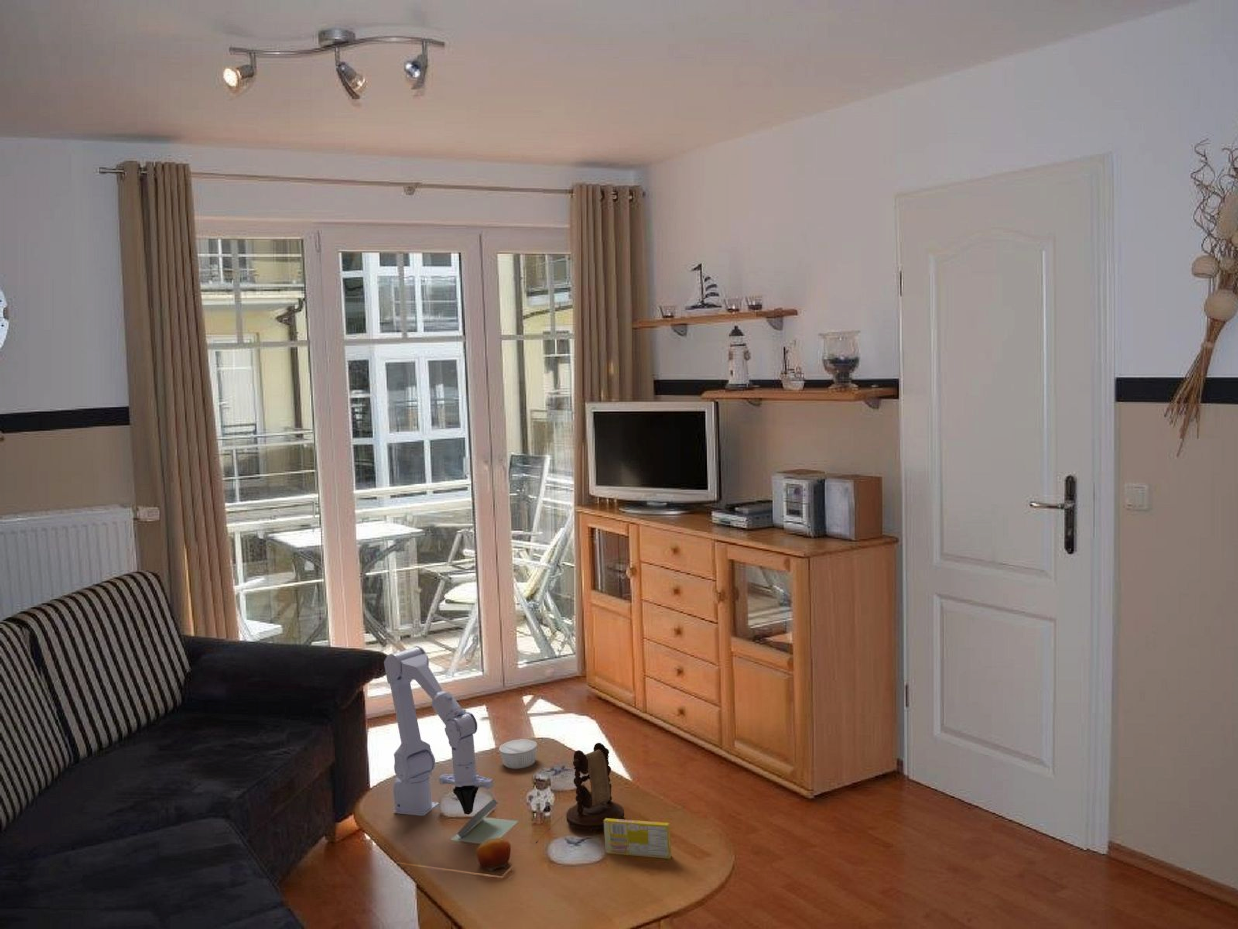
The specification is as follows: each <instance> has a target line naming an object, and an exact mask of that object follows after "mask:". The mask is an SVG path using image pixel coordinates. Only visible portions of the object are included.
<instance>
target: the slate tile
mask: <svg viewBox="0 0 1238 929" xmlns="http://www.w3.org/2000/svg"><path fill="white" fill-rule="evenodd" d="M498 803H499V802H497V801H496V800H495V799H494V798H493V799H491V801H489V802H488V803H487V804H486V805H485V806H484V807H482V808H481V809H480V810H479V811H477V812H476V813H475V814H474V815H473V816H472V817H471V818H470V819H469V820H468V821H467V822H466V823H465V825H464V826H463V827H461V829H460V830H459V831H458V832H457V833H456V835H457V834H458V835H459V836H460V837H461V838H462V837H463V836H465V835H466V834H468V833H469V832H470V831H471V830H472V829H473V828H474V827H476V826H477V825H478V824H479V823H480V822H481V821H482V820H483V819H484V818H485V817H487V816H488V815H489V814H490V813H491V812H492V811H493V810H494V809H495V808H496V807H497V806H498Z"/></svg>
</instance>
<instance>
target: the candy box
mask: <svg viewBox="0 0 1238 929" xmlns="http://www.w3.org/2000/svg"><path fill="white" fill-rule="evenodd" d="M603 833H604V834H603V835H604V848H605V849H604V850H605V851H604V852H605V854H609V855H611V854H612V855H619V856H620V855H622V856H635V857H642V858H643V857H644V858H653V859H655V858H656V859H665V860H671V857H672V856H673V855H672V843H671V825H670V822H662V821H661V822H660V821H647V820H633V819H623V820H622V819H610V818H606V819H605V820H604V828H603Z"/></svg>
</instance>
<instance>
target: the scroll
mask: <svg viewBox="0 0 1238 929" xmlns="http://www.w3.org/2000/svg"><path fill="white" fill-rule="evenodd" d="M609 754H610V750H609V749H608V748H606V746H605V744H602V743H601V742H596V743H595V744H594V746H593V751H591V752H588V753H585V752H583V751H582V750H575V751H574V753H573V761H572V765H573V769H574V778H573V784H574V786H575V787H576V788H575V794H576V796H575V802H576V804H575V805H574V806H572V807H571V808H569V809H568V810H567V811H566V818H565V819H566V822H567V823H568V824H569V825H571V826H572V827H573V828H576V829H581V830H590V831H591V834H592V835H594V834H595V833H596V830H600V829H601V830H602V829H604V820H605V819H606V818H610V819H622V820H625V819H624V818H625V809H624V808H623V805H621V804H619V803H617V802H614V801H612V800H613V797H612V784H611V783H610V782H611V778H610V774H611V771H612V768H611V766H610V762H609ZM581 774H582V775H583V776H581ZM588 780H589V783H590V790H589V788H588V787H586V786H585V785H582V784H583V783H585V782H588Z"/></svg>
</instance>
